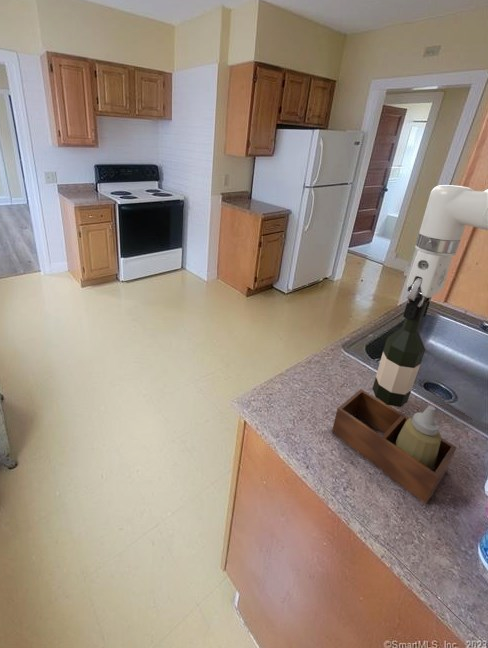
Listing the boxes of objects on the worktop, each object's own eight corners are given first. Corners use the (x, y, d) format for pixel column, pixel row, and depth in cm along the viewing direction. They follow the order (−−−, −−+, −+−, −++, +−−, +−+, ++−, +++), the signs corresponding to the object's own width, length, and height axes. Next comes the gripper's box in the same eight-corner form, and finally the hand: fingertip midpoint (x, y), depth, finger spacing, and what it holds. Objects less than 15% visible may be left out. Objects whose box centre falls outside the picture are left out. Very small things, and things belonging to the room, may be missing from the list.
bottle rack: (445, 472, 72) (457, 447, 69) (426, 504, 65) (437, 477, 62) (354, 411, 87) (360, 388, 84) (331, 432, 81) (337, 408, 78)
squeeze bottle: (438, 486, 69) (466, 424, 62) (400, 485, 69) (424, 423, 62) (415, 452, 76) (438, 393, 70) (381, 451, 76) (401, 392, 70)
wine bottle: (414, 405, 83) (451, 303, 72) (386, 409, 82) (418, 305, 70) (392, 382, 91) (422, 287, 79) (365, 385, 89) (392, 289, 78)
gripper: (442, 256, 63) (417, 335, 70) (469, 241, 72) (444, 313, 79) (402, 246, 68) (382, 320, 75) (431, 234, 78) (411, 301, 84)
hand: (414, 316), depth 77 cm, fingers closed on wine bottle, 3 cm apart
